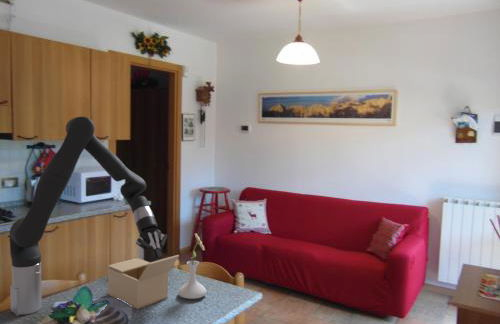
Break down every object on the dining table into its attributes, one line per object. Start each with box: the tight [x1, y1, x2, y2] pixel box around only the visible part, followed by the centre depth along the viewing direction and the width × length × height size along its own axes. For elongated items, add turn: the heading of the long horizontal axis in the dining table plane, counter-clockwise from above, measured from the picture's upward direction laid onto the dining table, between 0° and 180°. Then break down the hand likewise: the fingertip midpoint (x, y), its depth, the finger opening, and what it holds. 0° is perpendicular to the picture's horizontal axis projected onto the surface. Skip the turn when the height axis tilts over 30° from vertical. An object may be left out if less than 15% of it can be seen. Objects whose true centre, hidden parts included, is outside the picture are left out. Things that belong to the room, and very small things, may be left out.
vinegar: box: [143, 250, 158, 263], centre depth 180 cm, size 7×7×20 cm
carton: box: [107, 266, 169, 311], centre depth 160 cm, size 14×20×11 cm
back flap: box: [107, 257, 150, 273], centre depth 163 cm, size 14×10×1 cm
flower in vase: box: [177, 233, 207, 300], centre depth 162 cm, size 13×11×25 cm
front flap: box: [139, 254, 180, 281], centre depth 151 cm, size 14×10×1 cm
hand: (159, 258), depth 150 cm, fingers closed
